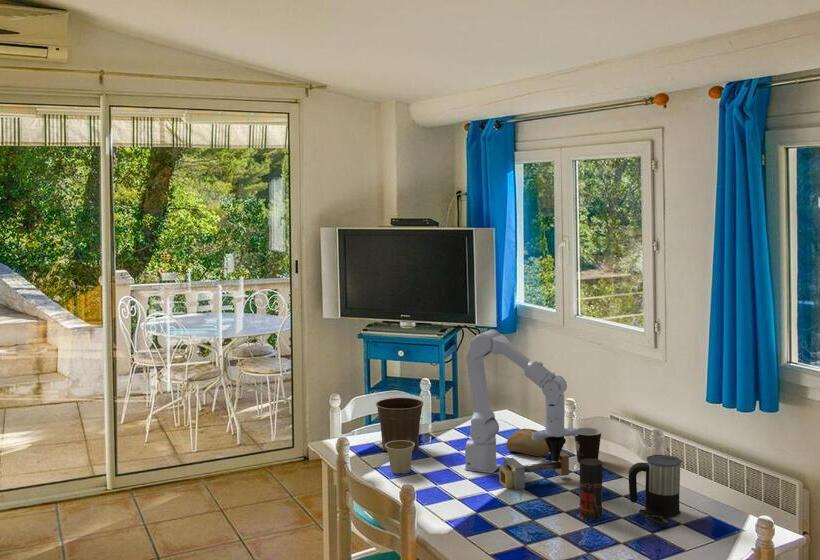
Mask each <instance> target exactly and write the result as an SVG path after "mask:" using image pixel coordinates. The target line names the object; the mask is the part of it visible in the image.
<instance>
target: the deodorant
mask: <svg viewBox="0 0 820 560" xmlns="http://www.w3.org/2000/svg"><path fill="white" fill-rule="evenodd" d="M579 517H580V518H582V519H584V520H589V521H595V520H599V519H600V520H601V519H602V518H603V461H602V460H601V459H599V458H598V459H592V458H587V459H582V460H580V463H579Z"/></svg>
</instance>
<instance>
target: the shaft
mask: <svg viewBox="0 0 820 560" xmlns="http://www.w3.org/2000/svg"><path fill="white" fill-rule="evenodd" d="M522 465H523V466H524V467H525V474H527V473H534V472H543V471H546V472H547V471H553V470H555V472H556V473H557V474H558V475H560V476H561V477H563V476H570V456H569V455H568V454H567V453H566V452H564V451H561V452H560V456H559V460H558V461H556V462H554V461H550V462H544V463H543V462H542V463H535V464H525V465H524V464H522Z"/></svg>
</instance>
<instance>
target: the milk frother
mask: <svg viewBox="0 0 820 560" xmlns="http://www.w3.org/2000/svg"><path fill="white" fill-rule="evenodd" d="M682 462H683V461H682V459H681V458H679V457H677V456H673V455H668V454H653V455H652V454H651V455H649V456H647V457H646V462H636V463H634V464H633V465H632V466H630V468H629V471H628V492H629V493H628V494H629V500H630V502H631V503H634V504H635V503H637V501H638V485H637V475H638V473H640V472H645V490H644V491H645V493H644V494H645V495H644V496H645V499H644V501H645V503H644V504H645V508H644V509H642V508H640V509H639V510H638V511H637V512H638V514H639V515H640V516H642V517H643V518H644V519H646V520H647V521H649V522H651V523H653V524H654V525H656V526H657V527H660V526H661V527H662V526H664V527H665V526H668V524H669V521H668V520H667V518H668V519H671V518H677V517H679V516H680V515H681V511H680V494H681V493H680V487H681V486H680V485H681V484H680V481H681V464H682Z"/></svg>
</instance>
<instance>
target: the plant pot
mask: <svg viewBox="0 0 820 560" xmlns="http://www.w3.org/2000/svg"><path fill="white" fill-rule="evenodd" d="M375 406H376V408H377V415H378V417H379V424H380V433H381V434H380V435H381V443H382V444H381V445H382V450H383V449H384V450H383V451H384V452H386V451H387V449H386V447H385V444H386V443H388V442H391V441H398V440H405V441H411V442H413V443H414V444H415V446H414V448H413V452H415V450H416V449H418V448H419V440H420V439H419V438H420V437H419V436H420V425H421V415H422V410H423V406H424V401H423V400H421V399H417V398H414V397H413V398H411V397H390V398H384V399H380V400H378V401H377V402H376V403H375ZM416 451H417V450H416Z"/></svg>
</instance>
